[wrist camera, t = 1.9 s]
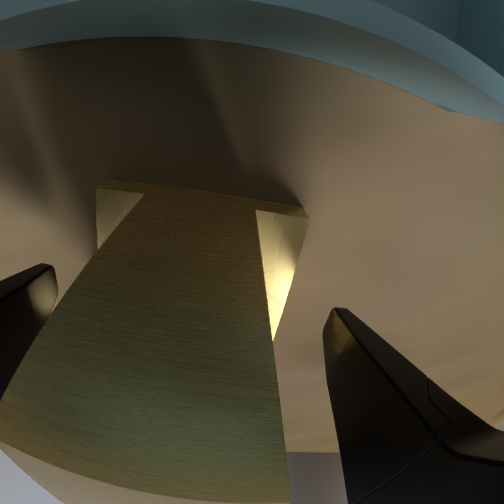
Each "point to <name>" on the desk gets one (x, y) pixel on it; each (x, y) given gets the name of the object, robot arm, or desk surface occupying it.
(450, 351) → the desk surface
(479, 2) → the blue rectangular open bin
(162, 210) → the brass bracket
